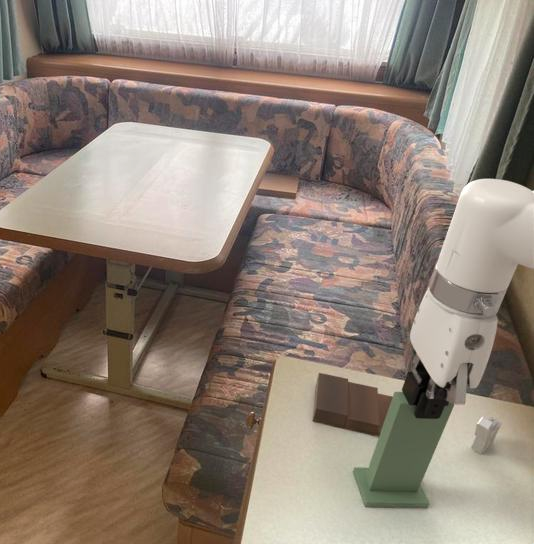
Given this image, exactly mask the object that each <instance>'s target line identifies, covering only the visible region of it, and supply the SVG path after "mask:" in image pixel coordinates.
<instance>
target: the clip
mask: <svg viewBox="0 0 534 544" xmlns="http://www.w3.org/2000/svg"><path fill="white" fill-rule="evenodd" d="M430 377H431V376H430V375H429V373H428V372H417V370H416V369H413V371H407V374H406V376H405V379H404V382H403V384H402V388H401V392H403V394H404V396H405V398H406V400H407V401H408V403H409V405H417V404H418V402H419V399H420V396H421V394H422V392H426V390H427V387H428V384H429V380H430ZM439 388H442V387H440V386H438V388H437V389H439ZM444 388H445V387H444ZM448 404H449V402H448V401H447V402H446V404H445V406H448Z"/></svg>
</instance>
